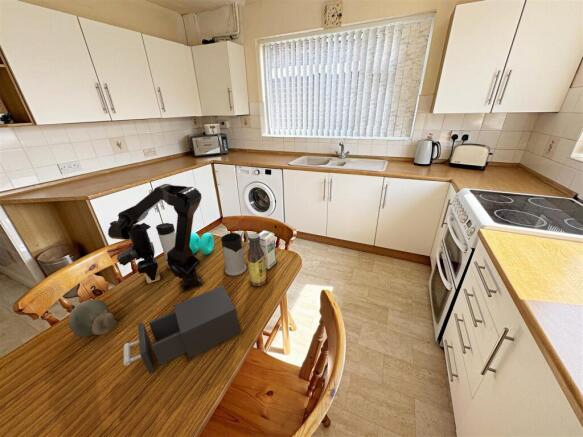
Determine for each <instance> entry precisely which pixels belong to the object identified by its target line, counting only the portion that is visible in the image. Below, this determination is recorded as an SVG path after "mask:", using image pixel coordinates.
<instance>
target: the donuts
mask: <svg viewBox="0 0 583 437" xmlns="http://www.w3.org/2000/svg"><path fill="white" fill-rule="evenodd" d="M214 247H215V238H214V236H213V234H212V233H210V232H205V233H203V234H202V235H201V237H200V235H199V234H198V233H196V232H192V231H191V238H190V248H191V250H192V254H193V255H195V254H196V253H198V252H199V250H200V252H201V253H202V254H203V255H205V256H207V255H210V254H211V253H212V252H213V250H214Z"/></svg>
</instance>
